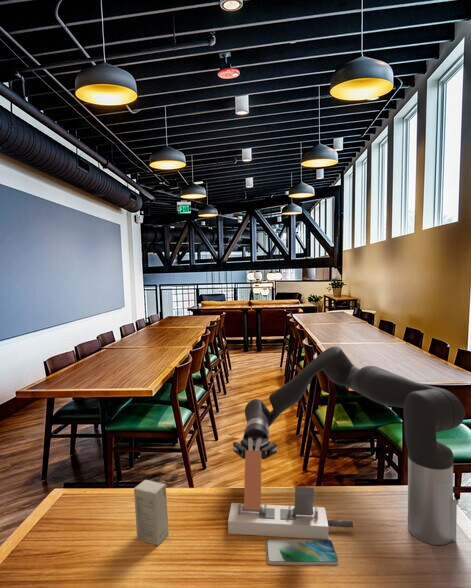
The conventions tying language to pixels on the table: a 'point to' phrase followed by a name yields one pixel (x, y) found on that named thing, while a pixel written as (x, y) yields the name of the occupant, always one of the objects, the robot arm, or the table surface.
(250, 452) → the bar
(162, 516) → the skincare box
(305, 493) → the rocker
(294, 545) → the smartphone
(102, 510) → the table surface
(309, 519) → the power strip
